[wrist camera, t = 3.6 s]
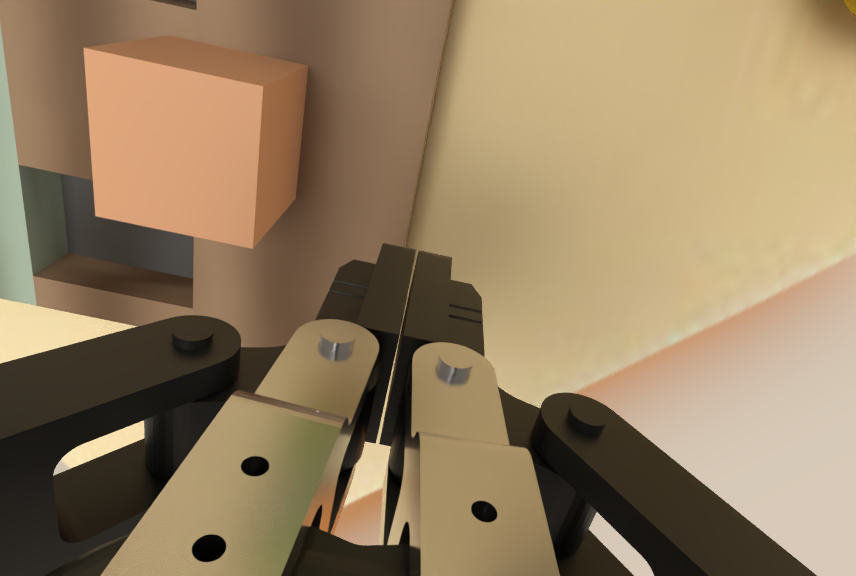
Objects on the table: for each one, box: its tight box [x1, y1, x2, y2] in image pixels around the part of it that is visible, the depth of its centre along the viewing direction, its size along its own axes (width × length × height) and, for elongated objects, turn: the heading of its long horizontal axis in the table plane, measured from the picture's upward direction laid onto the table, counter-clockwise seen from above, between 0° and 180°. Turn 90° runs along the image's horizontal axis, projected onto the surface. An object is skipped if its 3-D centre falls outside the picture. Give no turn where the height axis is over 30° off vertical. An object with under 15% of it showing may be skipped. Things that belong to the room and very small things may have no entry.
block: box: [84, 35, 308, 249], centre depth 20 cm, size 5×5×5 cm
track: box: [0, 0, 454, 347], centre depth 22 cm, size 22×20×6 cm
